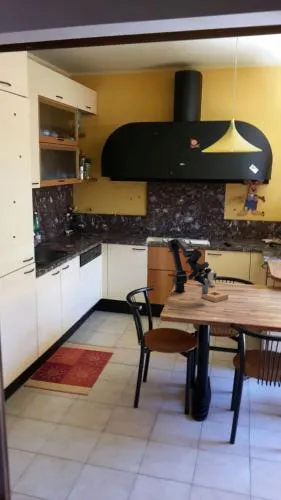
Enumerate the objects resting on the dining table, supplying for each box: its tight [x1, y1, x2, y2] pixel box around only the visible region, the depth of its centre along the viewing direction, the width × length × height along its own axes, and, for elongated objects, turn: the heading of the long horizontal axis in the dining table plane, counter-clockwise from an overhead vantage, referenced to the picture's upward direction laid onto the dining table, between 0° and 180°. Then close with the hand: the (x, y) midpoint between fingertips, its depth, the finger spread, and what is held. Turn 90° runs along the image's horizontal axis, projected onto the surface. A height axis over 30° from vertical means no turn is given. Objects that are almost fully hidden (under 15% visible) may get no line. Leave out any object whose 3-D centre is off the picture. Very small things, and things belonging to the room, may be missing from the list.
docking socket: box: [200, 289, 229, 303], centre depth 278 cm, size 13×13×3 cm
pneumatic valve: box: [201, 269, 217, 287], centre depth 310 cm, size 6×12×12 cm, turn 77°
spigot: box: [201, 278, 209, 294], centre depth 266 cm, size 4×4×10 cm
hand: (206, 284), depth 265 cm, fingers closed on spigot, 4 cm apart
